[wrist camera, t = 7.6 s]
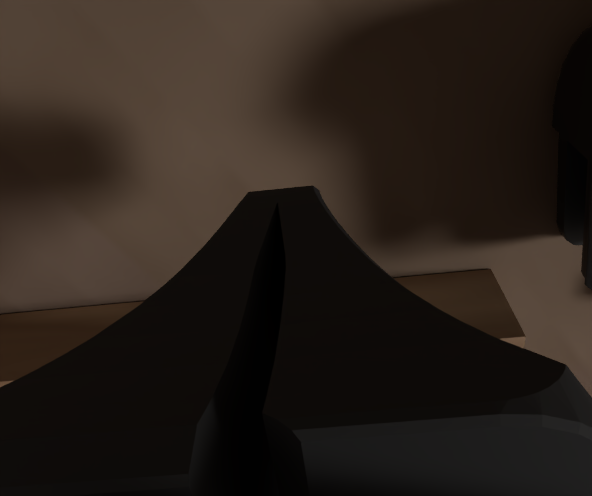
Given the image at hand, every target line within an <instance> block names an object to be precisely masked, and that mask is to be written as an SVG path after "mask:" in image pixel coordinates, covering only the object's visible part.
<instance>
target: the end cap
mask: <svg viewBox="0 0 592 496" xmlns="http://www.w3.org/2000/svg"><path fill="white" fill-rule="evenodd" d="M552 126H553V128H554V129H555V130H556V131H557V132H559V142H558V182H557V225H558V228H559V231H560V232H561V234H562V235H563V236H564V238H565V239H566V240H567V241H569V242H570V243H572V244H573V245H583V250H582V268H581V272H582V274H583V276H584V277H585V285H586V286H587V287H588V288H590V289H591V290H592V26H590V27H589V28H587V29H586V30H585V31H583V32H582V34H581V35H580V36H579V37H578V39H577V40H576V41H575V42H574V44H573V45H572V46H571V48H570V50H569V52H568V54H567V56H566V58H565V60H564V62H563V64H562V68H561V71H560V75H559V78H558V81H557V86H556V92H555V98H554V104H553V119H552Z"/></svg>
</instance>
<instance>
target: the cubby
mask: <svg viewBox="0 0 592 496" xmlns="http://www.w3.org/2000/svg"><path fill="white" fill-rule="evenodd" d="M394 279H395V280H396V281H397V282H399V283H400V284H401V285H402V286H404V287H405V288H407V289H408V290H409V291H411V292H412V293H414V294H416V295H417V296H419V297H420V298H422V299H424V300H425V301H427V302H429V303H430V304H432V305H433V306H435V307H437V308H438V309H440V310H442V311H444V312H445V313H447V314H449V315H451V316H453V317H455V318H456V319H458V320H460V321H462V322H464V323H466V324H468V325H471V326H473V327H475V328H477V329H479V330H481V331H483V332H485V333H487V334H489V335H491V336H494V337H496V338H498V339H500V340H503V341H506V342H508V343H511V344H513V345H516V346H519V347H521V348H524V344H525V337H526V336H525V334H524V332H523V330H522V328H521V327H520V325H519V323H518V321H517V319H516V317H515V315H514V313H513V311H512V309H511V307H510V305H509V303H508V301H507V299H506V298H505V296H504V294H503V292H502V290H501V288H500V286H499V284H498V282H497V280H496V278H495V276H494V274H493V272H492V270H491V269H486V270H475V271H464V272H453V273H443V274H432V275H421V276H410V277H399V278H394ZM143 302H144V301H141V302H130V303H119V304H108V305H98V306H87V307H76V308H65V309H54V310H44V311H33V312H22V313H11V314H1V315H0V387H2V386H4V385H6V384H8V383H10V382H13V381H15V380H17V379H19V378H21V377H23V376H25V375H27V374H29V373H30V372H32V371H34V370H36V369H38V368H40V367H42V366H44V365H45V364H47V363H49V362H51V361H53V360H55V359H56V358H58V357H60V356H62V355H64V354H65V353H67V352H69V351H70V350H72V349H74V348H76V347H77V346H79V345H81V344H82V343H84V342H86V341H87V340H89V339H91V338H92V337H94V336H95V335H97V334H98V333H100V332H101V331H103V330H104V329H106V328H107V327H108V326H110V325H111V324H113V323H114V322H116V321H117V320H119V319H120V318H122V317H123V316H125V315H126V314H127V313H129V312H130V311H132V310H133V309H135V308H136V307H137V306H139V305H140V304H141V303H143Z"/></svg>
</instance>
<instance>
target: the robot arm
mask: <svg viewBox="0 0 592 496" xmlns="http://www.w3.org/2000/svg"><path fill="white" fill-rule="evenodd" d="M0 496H592V397H591V396H590V395H589V394H588V392H587V391H586V390H585V389H584V387H583V386H582V385H581V384H580V382H579V381H578V380H577V378H576V377H575V376H574V374H573V373H572V372H571V371H570V369H569V368H568V366H567V365H565V364H563V363H560V362H558V361H555V360H552V359H550V358H547V357H545V356H542V355H539V354H537V353H534V352H532V351H529V350H526V349H524V348H521V347H519V346H516V345H513V344H511V343H508V342H506V341H503V340H500V339H498V338H496V337H494V336H491V335H489V334H487V333H485V332H483V331H481V330H479V329H477V328H475V327H473V326H471V325H468V324H466V323H464V322H462V321H460V320H458V319H456V318H455V317H453V316H451V315H449V314H447V313H445V312H444V311H442V310H440V309H438V308H437V307H435V306H433V305H432V304H430V303H429V302H427V301H425V300H424V299H422V298H420V297H419V296H417V295H416V294H414V293H412V292H411V291H409V290H408V289H407V288H405V287H404V286H402V285H401V284H400V283H399V282H397V281H396V280H395V279H394V278H392V277H391V276H390V275H389V274H387V273H386V272H385V271H384V270H383V269H382V268H380V267H379V266H378V265H377V264H376V263H375V262H374V261H373V260H372V259H371V258H370V257H369V256H368V255H367V254H366V253H365V252H364V251H363V250H362V249H361V248H360V247H359V246H358V245H357V244H356V243H355V242H354V241H353V240H352V239H351V237H350V236H349V235H348V234H347V233H346V231H345V230H344V229H343V228H342V226H341V225H340V224H339V223H338V222H337V220H336V219H335V217H334V216H333V215H332V213H331V212H330V210H329V209H328V207H327V206H326V204H325V202H324V201H323V199H322V197H321V194H320V191H319V190H318V189H317V188H315V187H314V186H304V187H294V188H284V189H274V190H264V191H254V192H248V193H247V195H246V196H245V197H244V198H243V199H242V201H241V202H240V203H239V204H238V205H237V207H236V208H235V209H234V211H233V212H232V213H231V214H230V216H229V217H228V218H227V219H226V221H225V222H224V223H223V224H222V226H221V227H220V228H219V229H218V230H217V232H216V233H215V234H214V235H213V236H212V237H211V239H210V240H209V241H208V242H207V243H206V245H205V246H204V247H203V248H202V249H201V250H200V251H199V252H198V253H197V254H196V255H195V256H194V257H193V258H192V259H191V260H190V261H189V262H188V263H187V264H186V265H185V266H184V267H183V268H182V269H181V270H180V271H179V272H178V273H177V274H176V275H175V276H174V277H173V278H172V279H170V280H169V281H168V282H167V283H166V284H165V285H164V286H162V287H161V288H160V289H159V290H158V291H156V292H155V293H154V294H153V295H151V296H150V297H149V298H148V299H146V300H145V301H144V302H143V303H141V304H140V305H139V306H137V307H136V308H135V309H133V310H132V311H130V312H129V313H127V314H126V315H125V316H123V317H122V318H120V319H119V320H117V321H116V322H114V323H113V324H111V325H110V326H108V327H107V328H106V329H104V330H103V331H101V332H100V333H98V334H97V335H95V336H94V337H92V338H91V339H89V340H87V341H86V342H84V343H82V344H81V345H79V346H77V347H76V348H74V349H72V350H70V351H69V352H67V353H65V354H64V355H62V356H60V357H58V358H56V359H55V360H53V361H51V362H49V363H47V364H45V365H44V366H42V367H40V368H38V369H36V370H34V371H32V372H30V373H29V374H27V375H25V376H23V377H21V378H19V379H17V380H15V381H13V382H10V383H8V384H6V385H4V386H2V387H0Z"/></svg>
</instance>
